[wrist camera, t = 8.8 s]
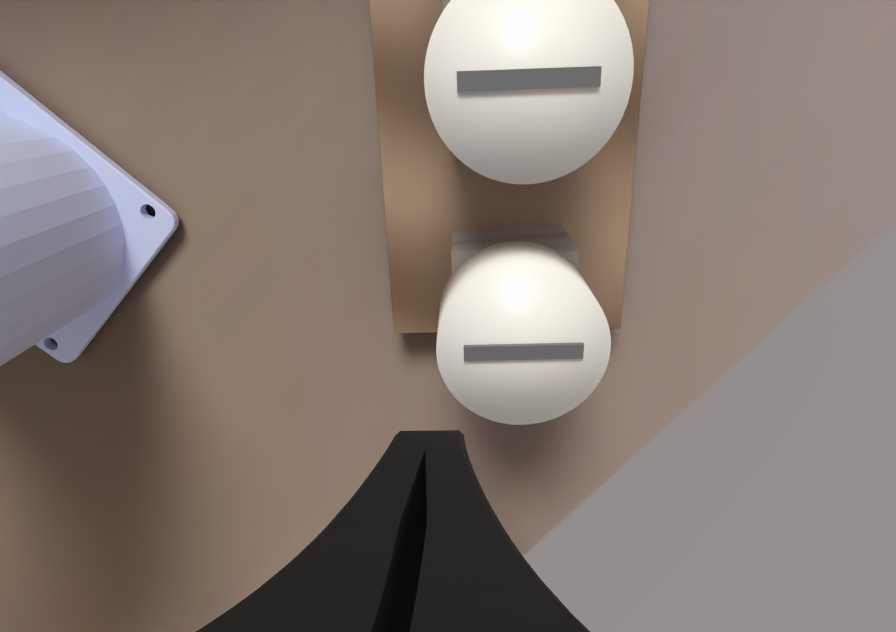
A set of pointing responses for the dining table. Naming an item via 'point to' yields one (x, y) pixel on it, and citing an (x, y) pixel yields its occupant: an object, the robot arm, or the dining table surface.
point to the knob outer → (520, 334)
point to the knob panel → (487, 182)
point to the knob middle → (528, 84)
